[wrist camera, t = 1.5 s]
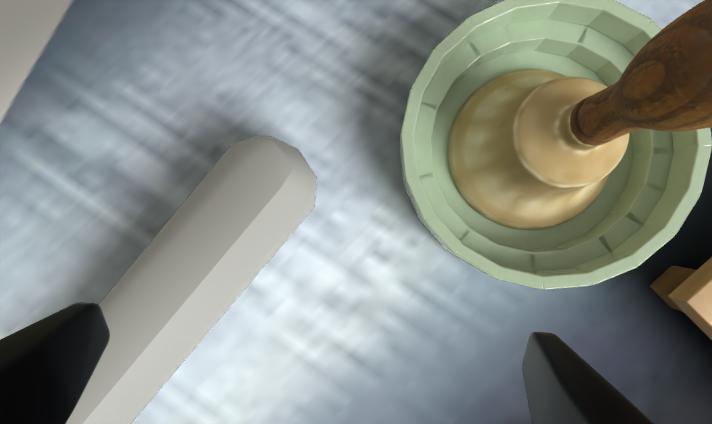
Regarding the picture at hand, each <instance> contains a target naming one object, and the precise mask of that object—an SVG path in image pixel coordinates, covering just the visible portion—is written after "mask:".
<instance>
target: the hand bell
mask: <svg viewBox="0 0 712 424" xmlns="http://www.w3.org/2000/svg"><path fill="white" fill-rule="evenodd" d="M710 127H712V0H705V1H703V2H701V3H699V4H698V5H696V6H695V7H693V8H692V9H690V10H689V11H687V12H686V13H684V14H683V15H681V16H680V17H678V18H677V19H676V20H674V21H673V22H671V23H670V24H669V25H667V26H666V27H665V28H663V29H662V30H661V31H660V32H659V33H658V34H656V35H655V36H654V37H653V38H652V39H650V40H649V41H648V42H647V44H646V45H645V46H644V47H643V48H642V49H641V50H640V51H639V52H638V53H637V54H636V56H635V57H634V58H633V59H632V61H631V62H630V63H629V65H628V66H627V68H626V69H625V71H624V72H623V74H622V76H621V78H620V79H619V80H618V81H617V82H616V83H615V84H613V85H611V86H609V87H606V86H605V85H603V84H601V83H599V82H598V81H595V80H592V79H589V78H585V77H576V76H569V77H567V76H565V75H563V74H559V73H556V72H553V71H548V70H540V69H524V70H517V71H512V72H508V73H505V74H502V75H500V76H497V77H495V78H493V79H491V80H489V81H487V82H486V83H484V84H483V85H482V86H480V87H479V88H478V89H476V90H475V91H474V92H473V93H472V94H471V95H470V96H469V97H468V98H467V100H466V101H465V102H464V103H463V105H462V106H461V108H460V109H459V111H458V113H457V115H456V117H455V119H454V121H453V124H452V127H451V130H450V133H449V139H448V163H449V168H450V172H451V175H452V178H453V180H454V182H455V185H456V187H457V189H458V191H459V192H460V194H461V195H462V197H463V198H464V199H465V200H466V202H467V203H468V204H469V205H470V206H471V207H472V208H473V209H474V210H475V211H477V212H478V213H479V214H481V215H482V216H483V217H485V218H487V219H489V220H491V221H493V222H495V223H497V224H499V225H502V226H505V227H508V228H513V229H518V230H539V229H546V228H551V227H554V226H557V225H560V224H563V223H565V222H567V221H569V220H571V219H573V218H575V217H576V216H578V215H579V214H580V213H582V212H583V211H584V210H586V209H587V208H588V207H589V206H590V205H591V204H592V203H593V202H594V201H595V200H596V198H597V197H598V196H599V194H600V193H601V191H602V189H603V188H604V186H605V184H606V182H607V180H608V178H609V175H610V172H611V171H612V170H613V169H614V168H615V167H616V166H617V164H618V163H619V162H620V160H621V159H622V157H623V155H624V153H625V151H626V148H627V144H628V141H629V133H630V132H632V131H635V130H637V129H650V130H656V131H669V132H674V131H689V130H698V129H704V128H710Z"/></svg>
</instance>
